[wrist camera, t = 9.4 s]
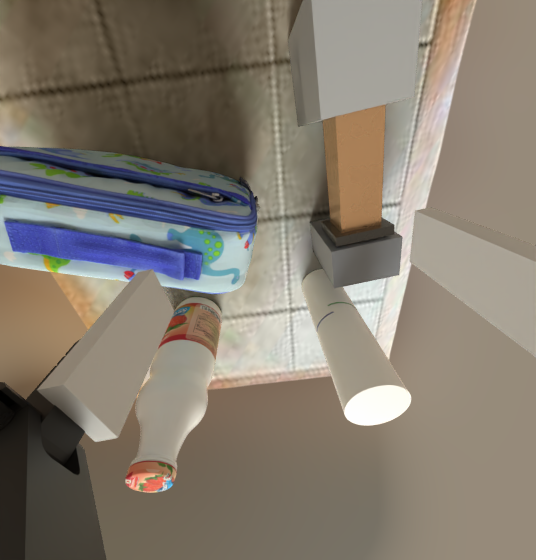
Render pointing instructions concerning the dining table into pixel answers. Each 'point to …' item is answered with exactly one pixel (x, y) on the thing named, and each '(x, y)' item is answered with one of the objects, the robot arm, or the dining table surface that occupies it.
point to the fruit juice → (175, 392)
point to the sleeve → (353, 55)
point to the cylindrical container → (353, 355)
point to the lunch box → (124, 218)
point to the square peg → (355, 176)
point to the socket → (356, 257)
